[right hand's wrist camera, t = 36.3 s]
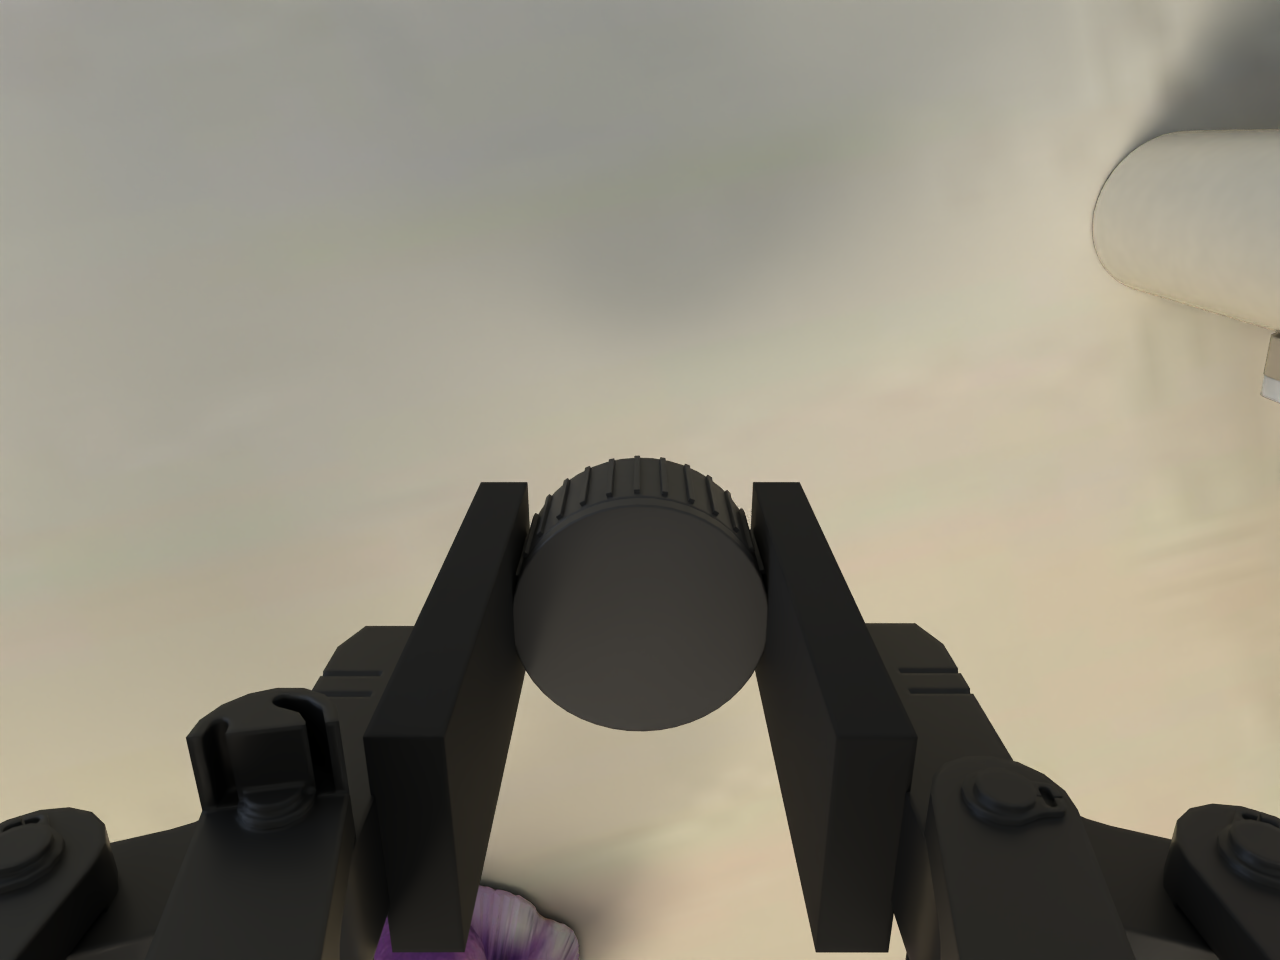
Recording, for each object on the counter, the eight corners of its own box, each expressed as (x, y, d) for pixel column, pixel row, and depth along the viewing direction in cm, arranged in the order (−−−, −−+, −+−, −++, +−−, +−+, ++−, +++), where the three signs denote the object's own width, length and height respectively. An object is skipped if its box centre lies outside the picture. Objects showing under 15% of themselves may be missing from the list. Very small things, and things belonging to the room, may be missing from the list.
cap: (589, 411, 14) (582, 453, 12) (802, 520, 14) (825, 577, 12) (485, 604, 15) (462, 670, 13) (684, 697, 15) (690, 772, 14)
